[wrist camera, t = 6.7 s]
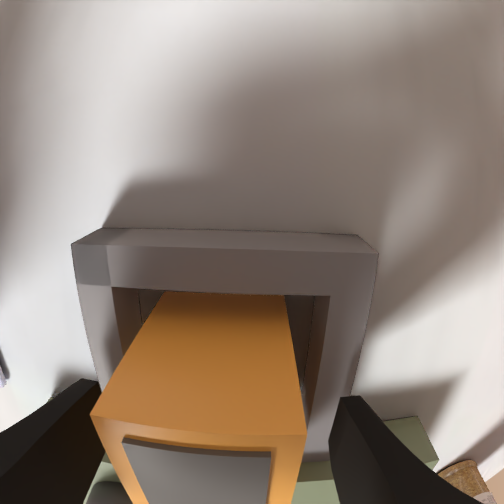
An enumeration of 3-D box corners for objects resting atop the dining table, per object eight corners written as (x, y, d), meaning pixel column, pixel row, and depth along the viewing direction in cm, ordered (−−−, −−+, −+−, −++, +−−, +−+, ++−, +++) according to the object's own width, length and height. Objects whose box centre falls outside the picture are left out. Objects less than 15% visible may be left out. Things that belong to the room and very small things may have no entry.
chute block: (179, 406, 12) (146, 529, 6) (164, 290, 11) (86, 419, 5) (274, 410, 12) (281, 541, 6) (284, 294, 11) (308, 440, 5)
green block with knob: (93, 480, 15) (71, 536, 10) (5, 228, 10) (-85, 268, 5) (373, 496, 15) (388, 556, 10) (471, 241, 10) (564, 292, 5)
